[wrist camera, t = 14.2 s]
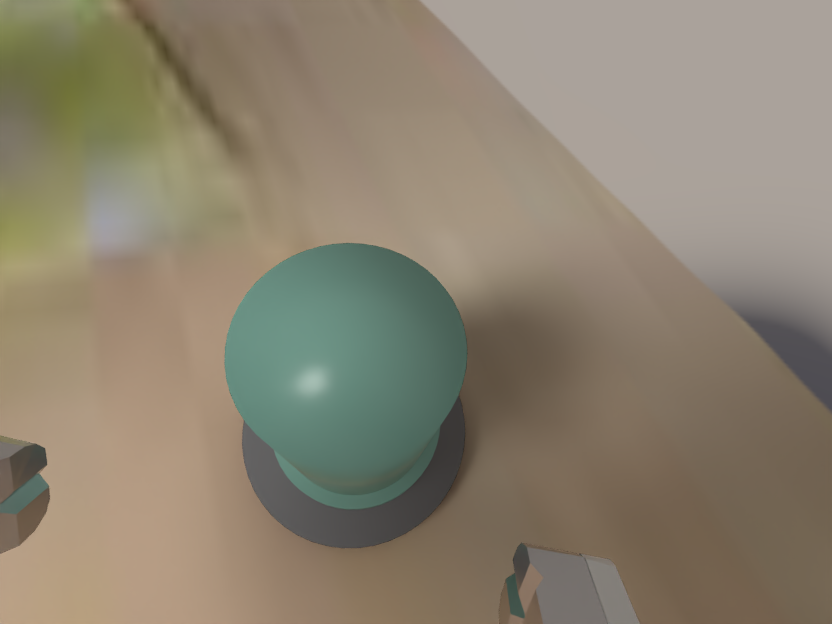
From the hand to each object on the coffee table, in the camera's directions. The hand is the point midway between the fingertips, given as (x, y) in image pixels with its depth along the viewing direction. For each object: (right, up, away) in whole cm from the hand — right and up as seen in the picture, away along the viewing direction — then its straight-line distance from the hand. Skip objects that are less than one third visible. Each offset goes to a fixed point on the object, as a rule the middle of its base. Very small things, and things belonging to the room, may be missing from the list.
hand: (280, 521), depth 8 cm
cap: (0, 0, +9) cm, 9 cm away
